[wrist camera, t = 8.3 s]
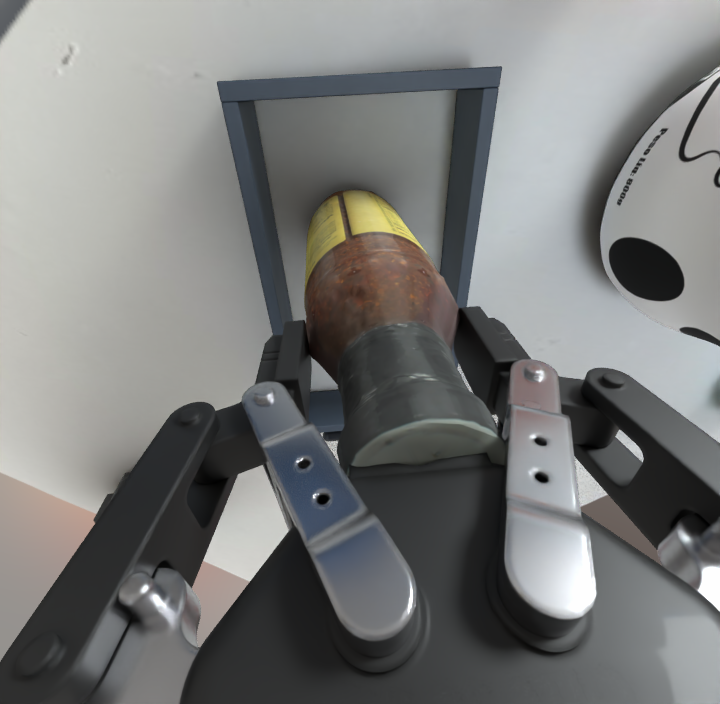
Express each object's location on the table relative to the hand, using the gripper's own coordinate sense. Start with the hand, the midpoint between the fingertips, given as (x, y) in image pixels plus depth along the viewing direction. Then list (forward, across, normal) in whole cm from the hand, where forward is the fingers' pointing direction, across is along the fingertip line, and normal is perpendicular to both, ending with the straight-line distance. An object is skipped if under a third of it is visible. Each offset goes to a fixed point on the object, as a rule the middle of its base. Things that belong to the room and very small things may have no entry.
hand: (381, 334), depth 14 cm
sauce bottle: (+13, 0, 0) cm, 13 cm away
